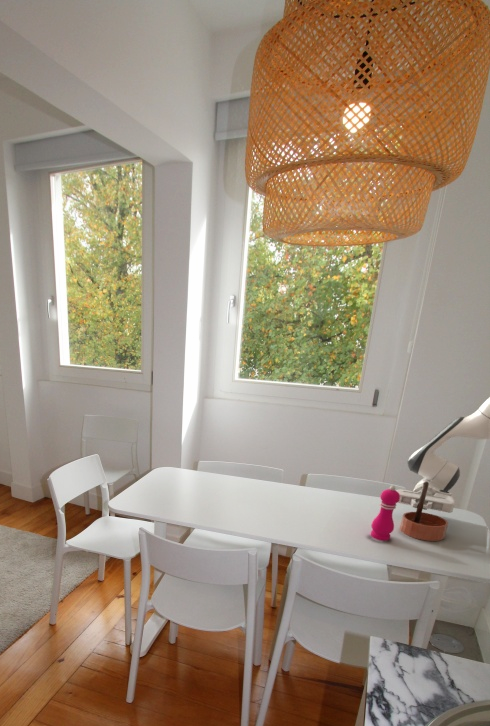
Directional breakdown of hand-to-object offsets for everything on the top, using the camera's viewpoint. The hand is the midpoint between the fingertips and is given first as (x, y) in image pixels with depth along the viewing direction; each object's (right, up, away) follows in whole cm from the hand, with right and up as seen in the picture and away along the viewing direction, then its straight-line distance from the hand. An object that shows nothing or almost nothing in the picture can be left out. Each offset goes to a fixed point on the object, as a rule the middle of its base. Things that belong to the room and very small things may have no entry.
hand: (420, 506), depth 169 cm
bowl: (+2, -10, +3) cm, 11 cm away
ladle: (0, -9, +4) cm, 10 cm away
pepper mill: (-15, -11, -1) cm, 19 cm away
